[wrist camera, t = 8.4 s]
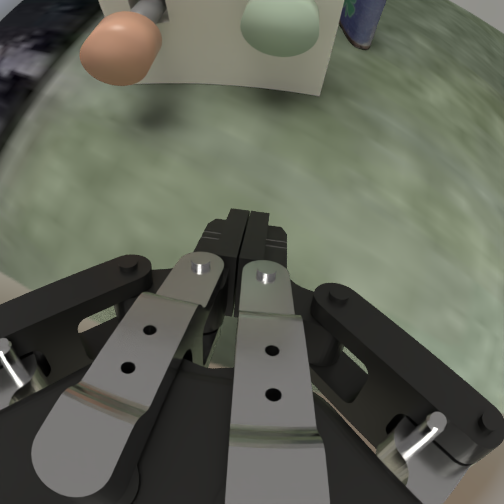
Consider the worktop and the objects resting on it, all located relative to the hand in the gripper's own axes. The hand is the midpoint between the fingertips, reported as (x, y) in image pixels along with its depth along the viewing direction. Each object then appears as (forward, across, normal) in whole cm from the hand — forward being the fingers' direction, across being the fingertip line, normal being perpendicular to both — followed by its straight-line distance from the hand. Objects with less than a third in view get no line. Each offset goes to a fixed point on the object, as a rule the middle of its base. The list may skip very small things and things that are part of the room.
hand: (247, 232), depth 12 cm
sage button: (+14, 0, -11) cm, 18 cm away
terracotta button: (+12, +10, -8) cm, 18 cm away
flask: (+28, -8, -15) cm, 33 cm away
